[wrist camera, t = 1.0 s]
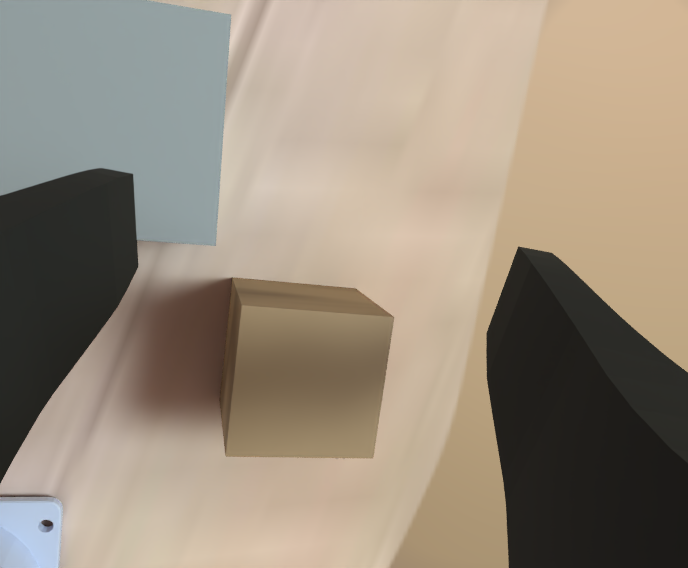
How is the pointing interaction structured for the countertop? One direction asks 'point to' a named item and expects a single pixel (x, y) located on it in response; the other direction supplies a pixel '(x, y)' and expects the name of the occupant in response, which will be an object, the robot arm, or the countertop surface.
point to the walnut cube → (302, 371)
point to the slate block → (118, 104)
